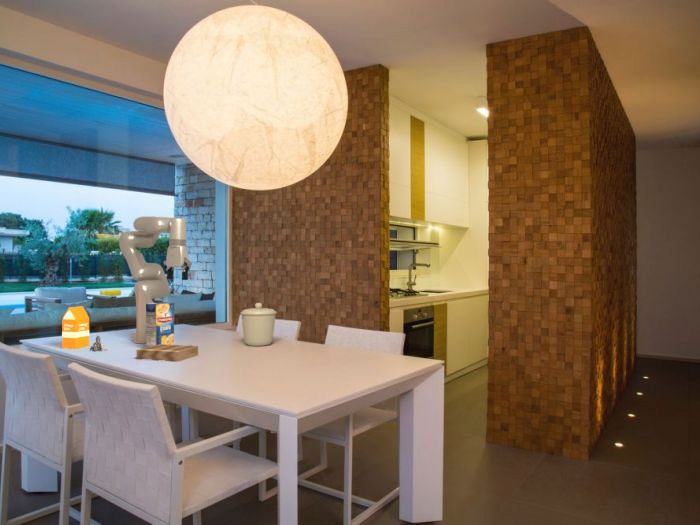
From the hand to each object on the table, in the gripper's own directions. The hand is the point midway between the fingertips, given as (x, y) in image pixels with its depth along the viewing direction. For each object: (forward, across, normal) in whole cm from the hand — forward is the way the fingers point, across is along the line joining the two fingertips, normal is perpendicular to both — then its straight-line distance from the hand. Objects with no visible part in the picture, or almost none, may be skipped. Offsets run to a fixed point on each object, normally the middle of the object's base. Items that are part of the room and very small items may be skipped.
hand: (177, 279), depth 260 cm
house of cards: (+34, -26, -25) cm, 50 cm away
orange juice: (+34, -42, -23) cm, 59 cm away
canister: (+33, +27, +29) cm, 51 cm away
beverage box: (+34, -4, -6) cm, 34 cm away
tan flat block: (+33, +14, -18) cm, 40 cm away
